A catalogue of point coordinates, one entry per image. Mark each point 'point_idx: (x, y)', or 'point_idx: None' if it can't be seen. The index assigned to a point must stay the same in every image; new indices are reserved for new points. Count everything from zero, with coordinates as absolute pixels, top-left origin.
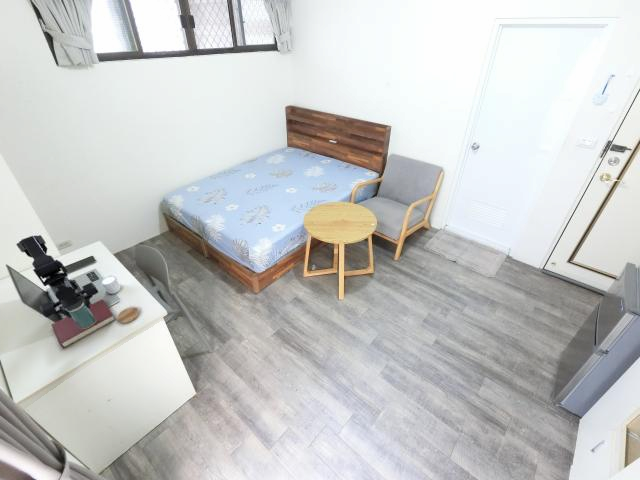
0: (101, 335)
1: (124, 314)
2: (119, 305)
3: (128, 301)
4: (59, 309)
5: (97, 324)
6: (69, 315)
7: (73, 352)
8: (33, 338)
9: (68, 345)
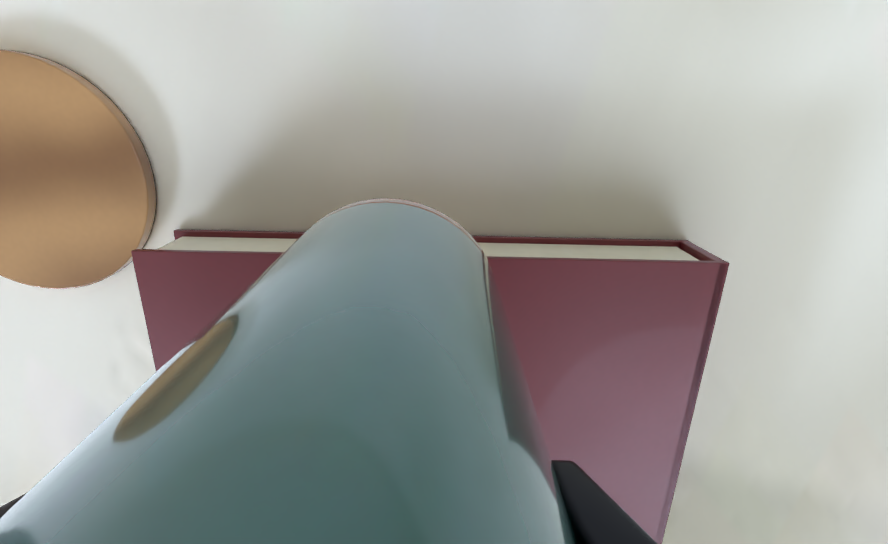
0: (359, 110)
1: (68, 219)
2: (114, 395)
3: (23, 384)
4: None
5: None
6: (588, 530)
7: (651, 99)
8: (773, 530)
9: (642, 239)
